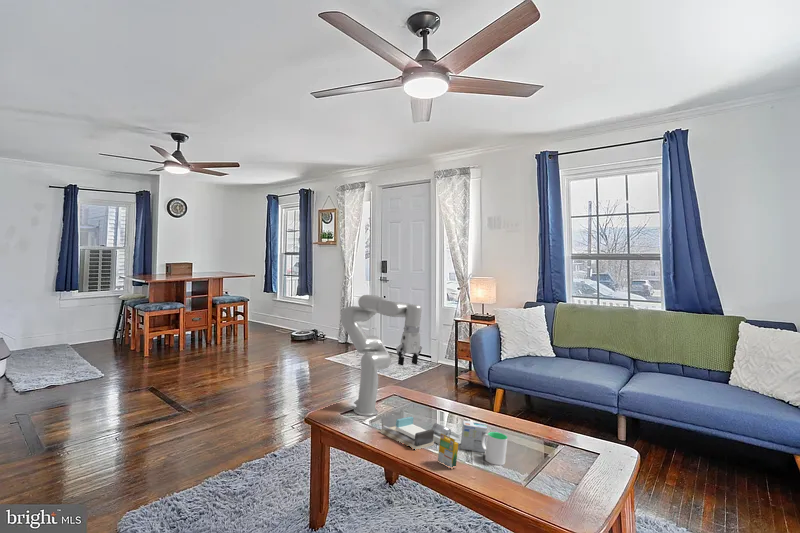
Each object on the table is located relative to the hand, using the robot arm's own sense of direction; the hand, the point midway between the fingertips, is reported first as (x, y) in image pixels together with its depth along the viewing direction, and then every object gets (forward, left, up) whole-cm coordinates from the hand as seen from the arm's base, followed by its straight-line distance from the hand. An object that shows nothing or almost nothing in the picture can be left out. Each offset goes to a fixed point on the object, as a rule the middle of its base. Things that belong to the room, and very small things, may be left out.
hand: (407, 364), depth 194 cm
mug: (+45, +10, -31) cm, 55 cm away
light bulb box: (+34, +12, -31) cm, 47 cm away
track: (+12, -8, -30) cm, 34 cm away
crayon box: (+39, -13, -31) cm, 51 cm away
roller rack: (+19, +8, -30) cm, 37 cm away
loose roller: (+19, +8, -29) cm, 36 cm away
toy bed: (+15, -8, -28) cm, 33 cm away
